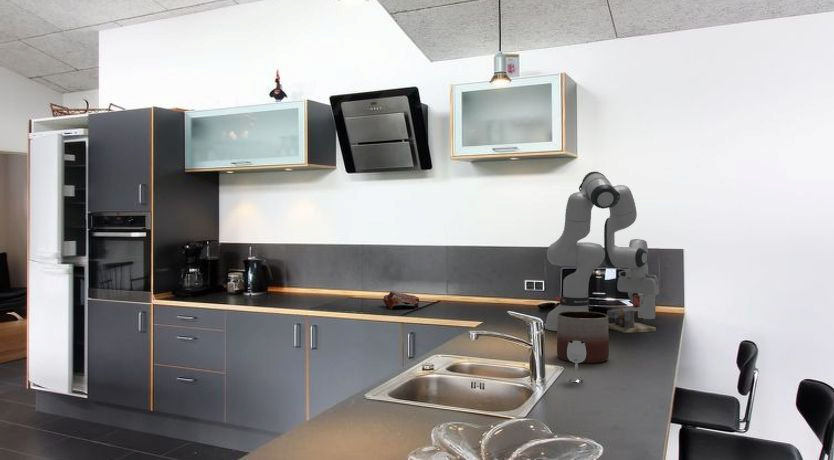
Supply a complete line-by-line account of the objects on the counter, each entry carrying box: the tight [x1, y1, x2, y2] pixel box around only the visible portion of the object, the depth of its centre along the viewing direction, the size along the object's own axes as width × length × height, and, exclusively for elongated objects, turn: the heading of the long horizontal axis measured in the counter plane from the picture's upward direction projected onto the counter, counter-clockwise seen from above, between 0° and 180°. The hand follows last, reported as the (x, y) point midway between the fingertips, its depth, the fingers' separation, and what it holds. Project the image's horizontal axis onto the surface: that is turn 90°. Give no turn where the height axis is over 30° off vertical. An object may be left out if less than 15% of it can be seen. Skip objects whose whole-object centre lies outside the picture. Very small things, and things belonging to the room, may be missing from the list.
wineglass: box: [567, 341, 586, 384], centre depth 186 cm, size 6×6×12 cm
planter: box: [556, 311, 610, 364], centre depth 216 cm, size 18×18×16 cm
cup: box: [637, 293, 657, 320], centre depth 305 cm, size 8×8×12 cm
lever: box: [606, 294, 640, 319], centre depth 280 cm, size 24×4×8 cm, turn 130°
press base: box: [608, 310, 657, 334], centre depth 274 cm, size 16×15×9 cm
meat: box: [382, 290, 420, 311], centre depth 342 cm, size 21×21×10 cm
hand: (637, 302), depth 286 cm, fingers open, 4 cm apart
